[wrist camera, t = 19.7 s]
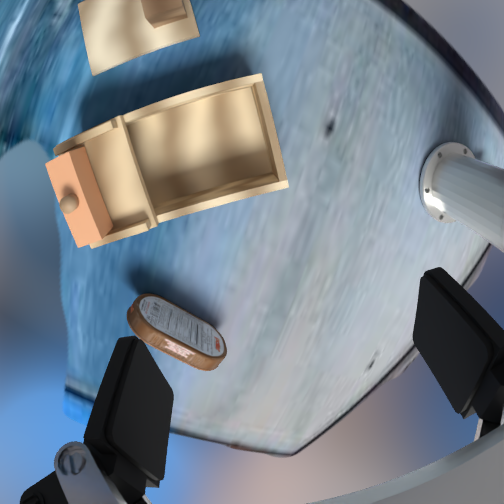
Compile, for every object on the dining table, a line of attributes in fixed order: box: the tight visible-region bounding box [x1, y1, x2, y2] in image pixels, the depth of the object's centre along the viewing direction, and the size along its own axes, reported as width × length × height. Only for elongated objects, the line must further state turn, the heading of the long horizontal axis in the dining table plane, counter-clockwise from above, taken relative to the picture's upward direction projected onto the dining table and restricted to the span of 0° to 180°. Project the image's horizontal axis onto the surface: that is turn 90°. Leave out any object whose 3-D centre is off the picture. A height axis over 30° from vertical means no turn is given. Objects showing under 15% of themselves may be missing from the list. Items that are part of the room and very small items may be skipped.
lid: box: [78, 0, 200, 76], centre depth 23 cm, size 14×12×6 cm
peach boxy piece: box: [45, 146, 113, 248], centre depth 25 cm, size 3×9×5 cm, turn 14°
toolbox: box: [53, 73, 289, 249], centre depth 30 cm, size 22×12×8 cm, turn 104°
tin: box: [127, 293, 227, 371], centre depth 40 cm, size 15×3×8 cm, turn 52°
